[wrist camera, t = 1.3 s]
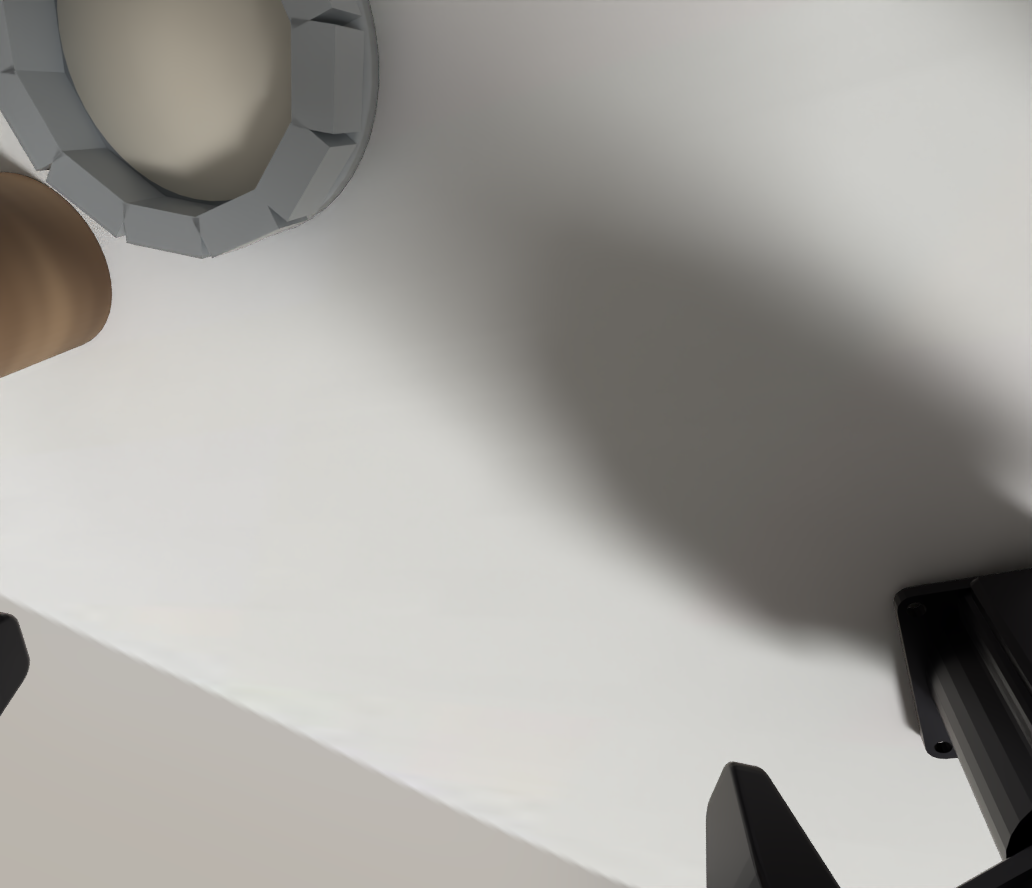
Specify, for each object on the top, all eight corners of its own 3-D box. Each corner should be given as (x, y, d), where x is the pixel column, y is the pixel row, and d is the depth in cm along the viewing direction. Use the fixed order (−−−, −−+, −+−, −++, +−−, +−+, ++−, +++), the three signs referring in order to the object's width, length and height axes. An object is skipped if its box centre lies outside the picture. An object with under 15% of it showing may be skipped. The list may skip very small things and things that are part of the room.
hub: (436, 166, 17) (401, 175, 15) (174, 279, 20) (113, 300, 18) (266, -266, 14) (191, -333, 12) (-14, -58, 17) (-114, -81, 15)
